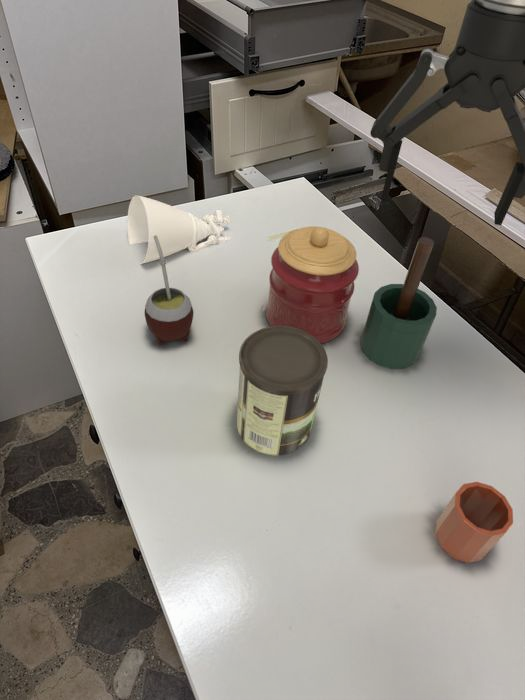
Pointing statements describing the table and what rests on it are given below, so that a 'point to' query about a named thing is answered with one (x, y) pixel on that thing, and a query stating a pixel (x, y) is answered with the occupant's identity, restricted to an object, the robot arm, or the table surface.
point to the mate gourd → (168, 310)
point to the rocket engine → (171, 227)
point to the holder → (483, 511)
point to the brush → (413, 278)
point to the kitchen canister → (312, 282)
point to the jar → (396, 328)
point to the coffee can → (279, 388)
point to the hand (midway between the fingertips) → (440, 207)
